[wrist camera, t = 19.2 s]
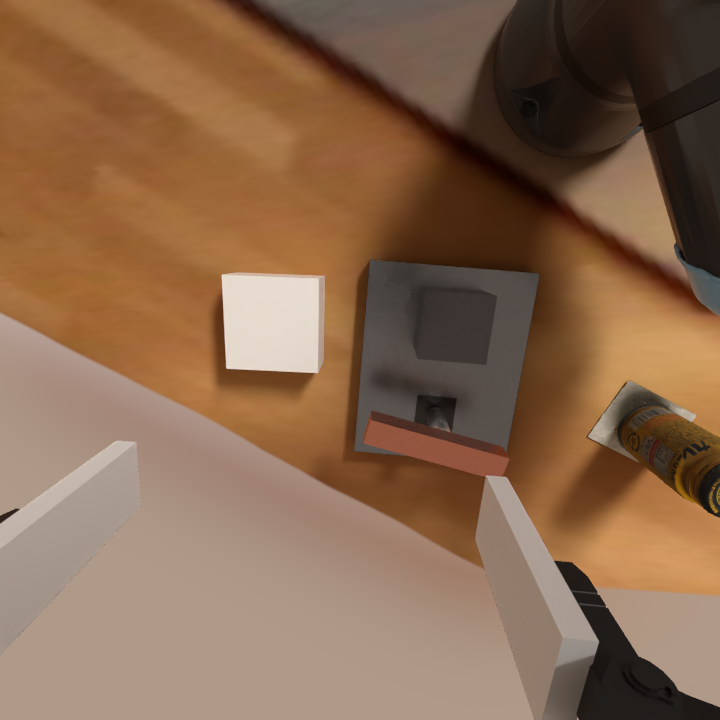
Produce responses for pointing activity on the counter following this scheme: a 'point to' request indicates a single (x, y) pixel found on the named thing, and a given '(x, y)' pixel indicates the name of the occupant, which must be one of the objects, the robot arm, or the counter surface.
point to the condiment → (664, 443)
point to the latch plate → (442, 376)
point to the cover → (274, 321)
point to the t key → (435, 443)
